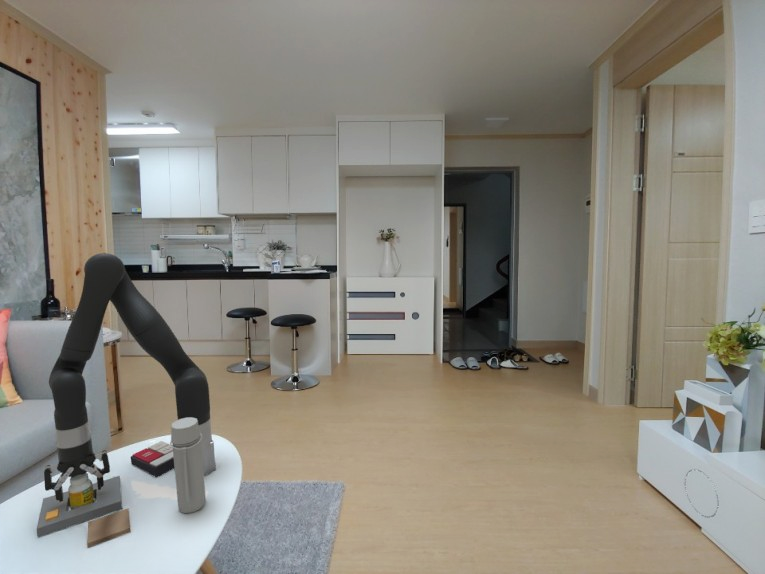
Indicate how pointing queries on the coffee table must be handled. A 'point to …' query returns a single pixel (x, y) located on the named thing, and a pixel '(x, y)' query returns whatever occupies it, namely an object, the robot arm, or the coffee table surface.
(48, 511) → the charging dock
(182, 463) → the water bottle
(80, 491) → the supplement bottle
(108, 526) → the coaster pad
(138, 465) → the calculator
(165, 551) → the coffee table surface
